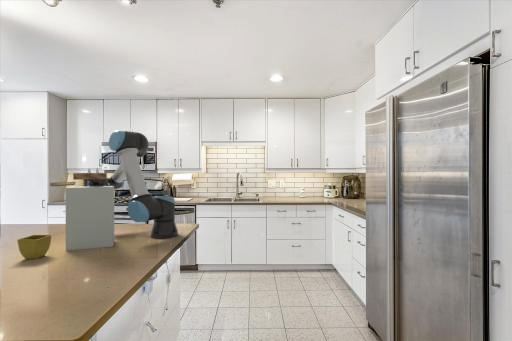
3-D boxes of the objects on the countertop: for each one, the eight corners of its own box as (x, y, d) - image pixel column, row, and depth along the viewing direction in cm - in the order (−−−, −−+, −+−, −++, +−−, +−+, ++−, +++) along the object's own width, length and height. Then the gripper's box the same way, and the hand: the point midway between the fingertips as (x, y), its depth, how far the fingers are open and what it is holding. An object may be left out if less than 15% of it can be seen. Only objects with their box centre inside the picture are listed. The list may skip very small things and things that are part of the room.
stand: (114, 241, 152) (114, 185, 152) (112, 246, 143) (112, 186, 143) (70, 245, 144) (70, 186, 144) (65, 250, 135) (65, 187, 135)
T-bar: (110, 178, 162) (110, 172, 162) (105, 179, 142) (105, 173, 142) (81, 178, 157) (81, 173, 157) (73, 179, 137) (73, 173, 137)
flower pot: (36, 260, 120) (36, 239, 120) (16, 260, 121) (16, 239, 121) (52, 254, 129) (52, 234, 129) (33, 254, 129) (33, 234, 129)
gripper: (113, 195, 168) (109, 176, 150) (82, 196, 162) (74, 177, 144) (114, 184, 172) (110, 164, 153) (83, 185, 166) (75, 164, 147)
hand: (92, 170), depth 148 cm, fingers closed on T-bar, 3 cm apart
